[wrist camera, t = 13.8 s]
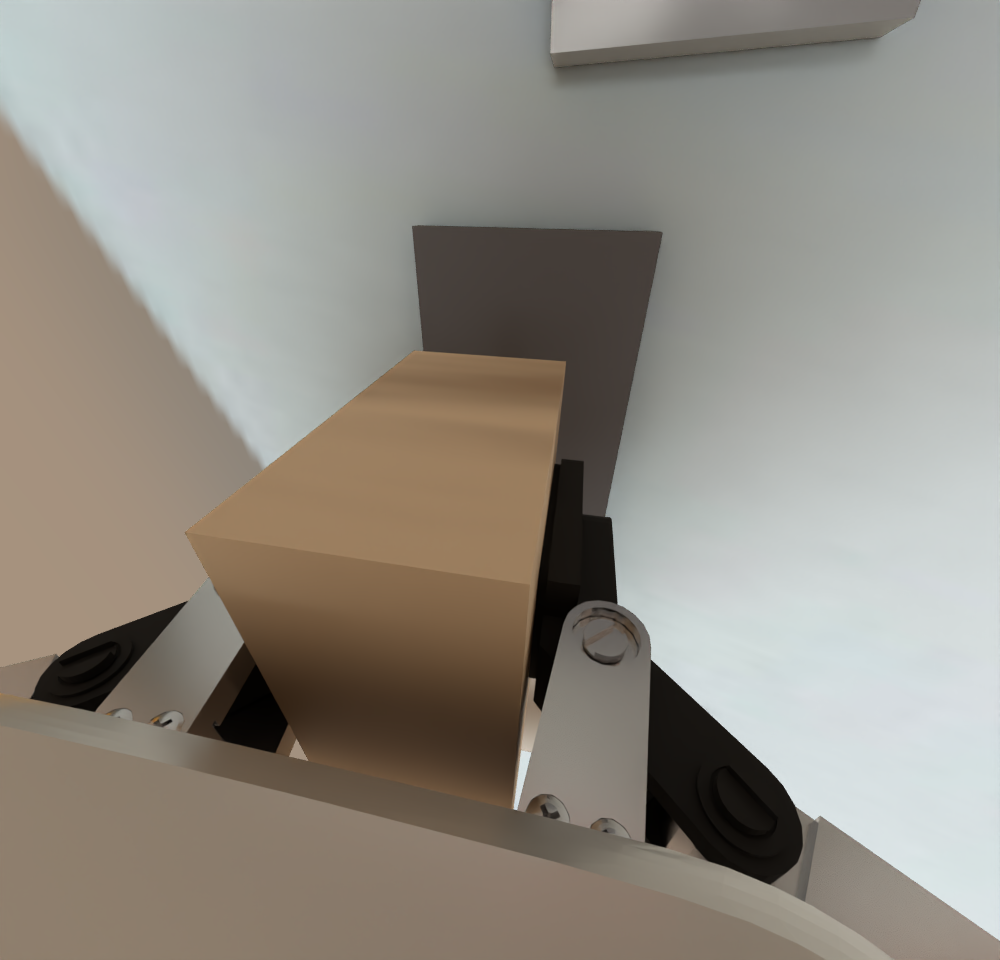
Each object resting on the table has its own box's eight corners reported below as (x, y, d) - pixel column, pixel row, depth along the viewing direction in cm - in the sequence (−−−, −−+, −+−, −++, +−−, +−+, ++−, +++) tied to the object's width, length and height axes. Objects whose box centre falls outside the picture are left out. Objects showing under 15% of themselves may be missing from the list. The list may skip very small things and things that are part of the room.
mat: (418, 225, 14) (412, 226, 14) (660, 231, 13) (662, 232, 12) (450, 605, 25) (447, 613, 25) (580, 627, 24) (580, 636, 24)
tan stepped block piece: (383, 348, 10) (121, 522, 4) (600, 363, 9) (616, 597, 4) (435, 717, 19) (375, 916, 14) (542, 739, 18) (523, 958, 13)
